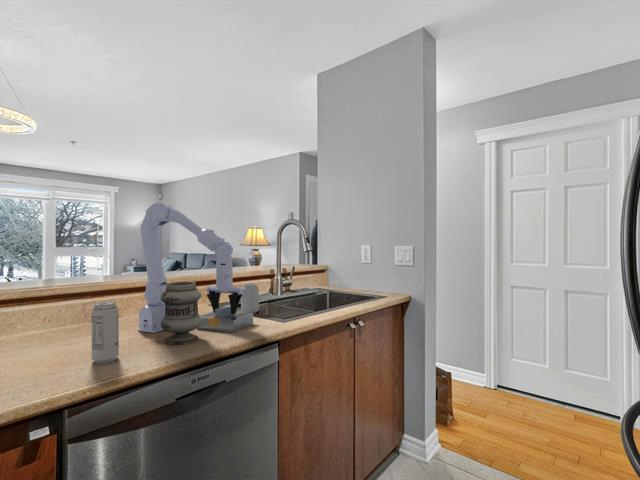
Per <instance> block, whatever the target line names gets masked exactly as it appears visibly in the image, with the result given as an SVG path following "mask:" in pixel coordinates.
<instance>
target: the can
mask: <svg viewBox="0 0 640 480" xmlns="http://www.w3.org/2000/svg"><path fill="white" fill-rule="evenodd" d="M241 288H243V294H242V297H241V299H240V312H248V313H253V314H256V313H257V312H259V310H260V307H259V305H260V295H259V294H260V289H259V286H258V284H257V283H244V284H242V287H241Z"/></svg>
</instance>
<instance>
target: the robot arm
mask: <svg viewBox="0 0 640 480" xmlns="http://www.w3.org/2000/svg"><path fill="white" fill-rule="evenodd" d="M141 222H142V223H141V224H140V235H141V241H142V242H141V243H142V249H143V253H144V261H145V266H146V267H145V268H146V274H147V278H146V282H145V291H144V294H143V296H144V299H145V302H146V305H145V306H143V307H141V308H140V310H139V312H138V329H137V332H142V333H152V334H156V333H159V332H163V331H165V330H164V329H163V328H162V327H161V321H162V319H163V318H164V317H165V302H163V301H162V300H161V295H162V293H163V292H164V291H165V290H166V287H167V284H168V279H167V278H166V276H165V273H164V267H163V261H162V255H161V253H162V252H161V245H160V241H159V240H160V239H159V234H158V231H159V230H160V229H162V227H163V226H164V225H166V224H167V223H169V222H172V223H177V224H179V225H180V226H182V227H184V228H185V229H186V230H187V231H189V232H191V233H192V234H194V235H195V236H196V239H197V241H198V243H200V244H202V246H203V247H205V248H206V249H207V250H210V252H214V255H215V256H216V263H215V270H216V271H215V282H216V284H215V285H216V286H206V293H207V294H206V297H207V299H208V300H209V302H210V305H211V308H212V311H213V312H214V313H215V309H217V308H220V298H221V295H222V294H228V295H227V296H228V299H229V305H230V306H231V314H235V313H236V312H237V311H238V306H239V303H240V302H241V297H242V294H243V288H242V287H235V286H233V281H234V280H233V276H234V275H233V256H232V255H233V252H234V247H233V246H232V244H231V243H230V242H228V241H225V240H226V239H225V238H223V237H220V236H219V235H218V234H216V233H215V230H214V229H212V228H211V229H209V228H202V227H201V226H199V225H198V224H197V223H196V222H194V221H193V220H192V219H191V218H189V217H188V216H187V215H186V214H184V213H183V212H181V211H180V210H178V209H176V208H173V206H171V205H169V204H164V203H163V202H154V203H153V204H151V205H150V206H148V208H146V209H145V215H144V217H143V220H142V221H141Z"/></svg>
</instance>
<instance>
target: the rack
mask: <svg viewBox="0 0 640 480" xmlns="http://www.w3.org/2000/svg"><path fill="white" fill-rule="evenodd" d="M199 315H200V316H201V317H202V324H201V325H200V326H199V327H198V328H197V329H199V330H207V331H208V330H209V331H216V332H217V331H218V332H223V333H224V332H226V333H235V332H237V331H240V330H243V329H244V328H247V327H249V326H251V325H253V324H254V313H248V312H242V311H236V313H235V314H231V315H228V316H225V317H223V318H219V317H215V313H214V312H213V310H212V311H209V312H207V313H203V314H199Z"/></svg>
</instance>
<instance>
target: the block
mask: <svg viewBox="0 0 640 480" xmlns="http://www.w3.org/2000/svg"><path fill="white" fill-rule="evenodd" d="M228 315H231V306H230V304H226V305H222V306H221V307H220V306H219V308H217V309H215V317H219V318H223V317H225V316H228Z"/></svg>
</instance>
